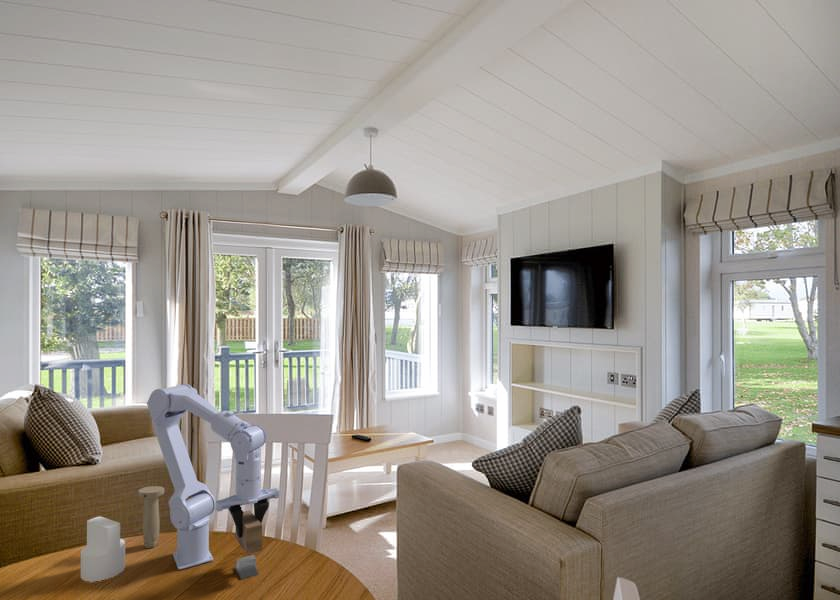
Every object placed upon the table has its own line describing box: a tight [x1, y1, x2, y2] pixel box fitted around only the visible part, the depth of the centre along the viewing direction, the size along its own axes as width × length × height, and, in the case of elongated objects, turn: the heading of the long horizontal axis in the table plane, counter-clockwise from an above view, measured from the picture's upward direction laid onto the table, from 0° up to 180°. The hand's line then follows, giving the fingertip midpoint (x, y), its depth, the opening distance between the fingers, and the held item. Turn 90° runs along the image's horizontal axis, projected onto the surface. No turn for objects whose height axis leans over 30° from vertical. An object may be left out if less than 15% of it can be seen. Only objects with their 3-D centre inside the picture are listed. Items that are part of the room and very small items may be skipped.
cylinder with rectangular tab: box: [80, 516, 126, 583], centre depth 119 cm, size 9×9×12 cm
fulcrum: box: [234, 554, 259, 580], centre depth 119 cm, size 6×4×3 cm, turn 34°
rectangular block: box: [235, 509, 263, 555], centre depth 119 cm, size 10×4×6 cm, turn 35°
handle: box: [137, 485, 165, 549], centre depth 132 cm, size 5×6×15 cm
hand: (248, 533), depth 119 cm, fingers closed on rectangular block, 3 cm apart
